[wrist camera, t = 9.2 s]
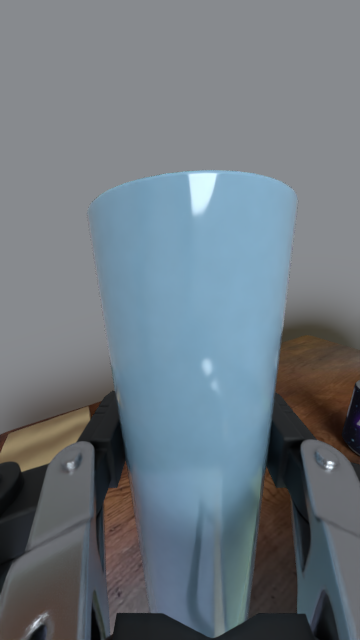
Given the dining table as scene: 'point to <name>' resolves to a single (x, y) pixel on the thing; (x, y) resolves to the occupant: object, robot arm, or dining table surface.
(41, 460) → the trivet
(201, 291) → the light blue cylinder
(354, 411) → the beverage can
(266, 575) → the dining table surface
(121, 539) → the dining table surface
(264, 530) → the dining table surface
